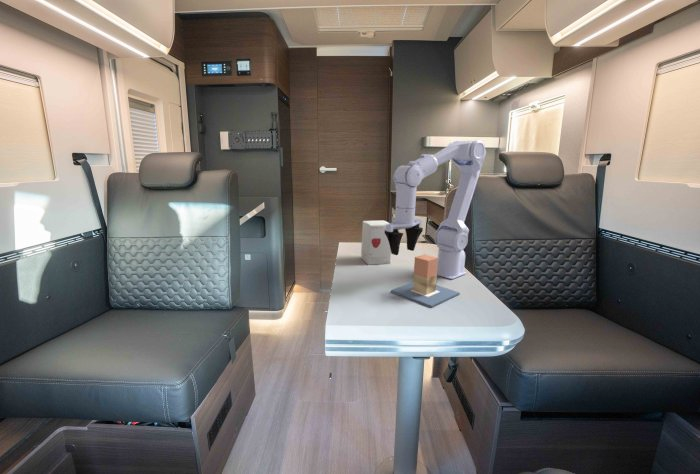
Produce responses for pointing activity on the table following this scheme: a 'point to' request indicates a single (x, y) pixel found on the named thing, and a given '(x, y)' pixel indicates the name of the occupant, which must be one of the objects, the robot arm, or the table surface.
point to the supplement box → (375, 243)
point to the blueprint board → (429, 299)
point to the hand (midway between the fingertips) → (402, 252)
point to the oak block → (424, 284)
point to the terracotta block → (425, 266)
